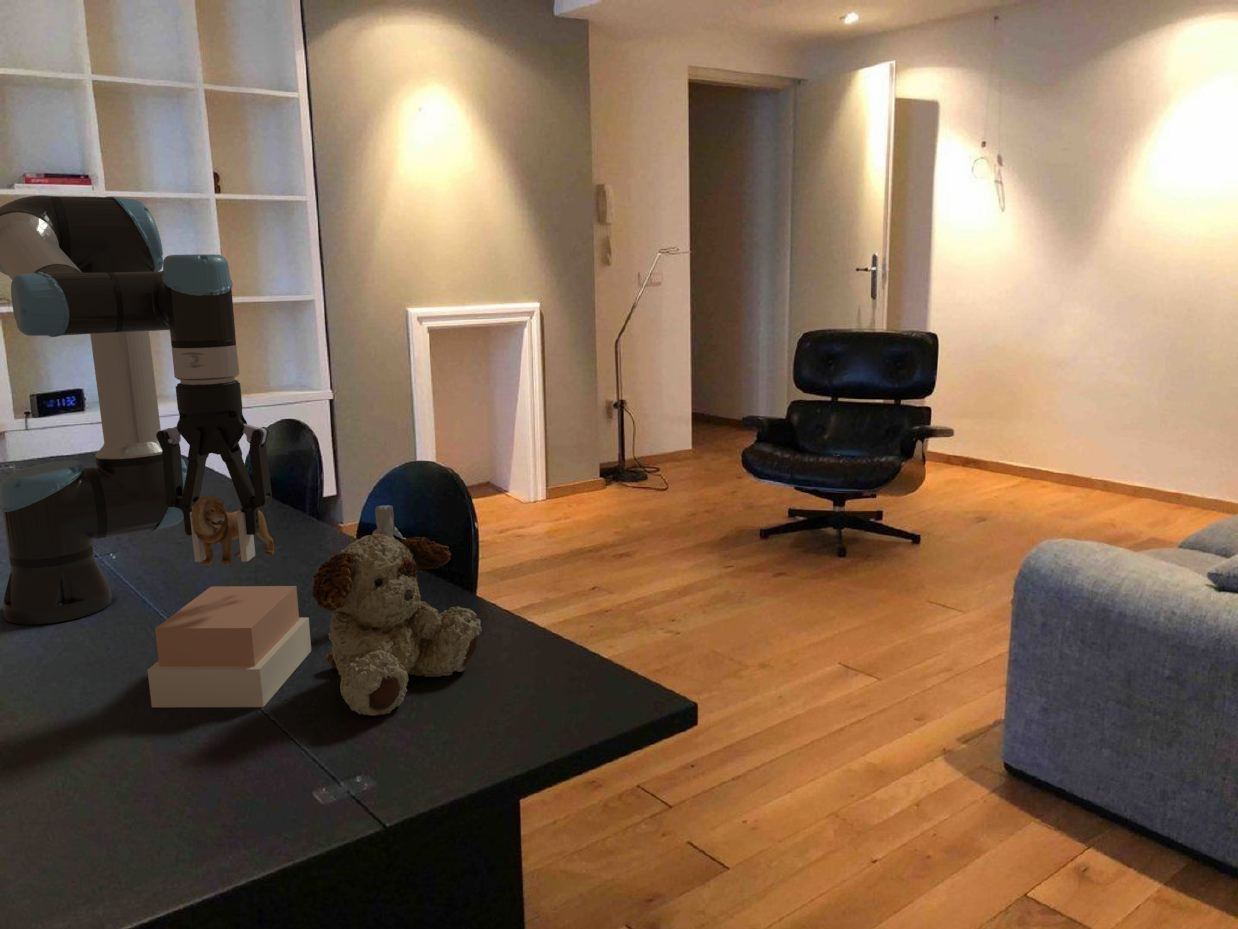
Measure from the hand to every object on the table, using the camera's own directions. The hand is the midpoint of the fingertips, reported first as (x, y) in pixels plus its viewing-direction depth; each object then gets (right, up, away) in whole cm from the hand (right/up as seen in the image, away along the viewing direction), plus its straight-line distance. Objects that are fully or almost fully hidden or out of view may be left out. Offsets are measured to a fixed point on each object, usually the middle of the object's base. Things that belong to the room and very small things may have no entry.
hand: (225, 558), depth 127 cm
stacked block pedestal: (0, -16, +3) cm, 16 cm away
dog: (+20, -16, +2) cm, 26 cm away
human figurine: (+16, -12, +25) cm, 31 cm away
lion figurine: (+1, -1, +1) cm, 1 cm away
